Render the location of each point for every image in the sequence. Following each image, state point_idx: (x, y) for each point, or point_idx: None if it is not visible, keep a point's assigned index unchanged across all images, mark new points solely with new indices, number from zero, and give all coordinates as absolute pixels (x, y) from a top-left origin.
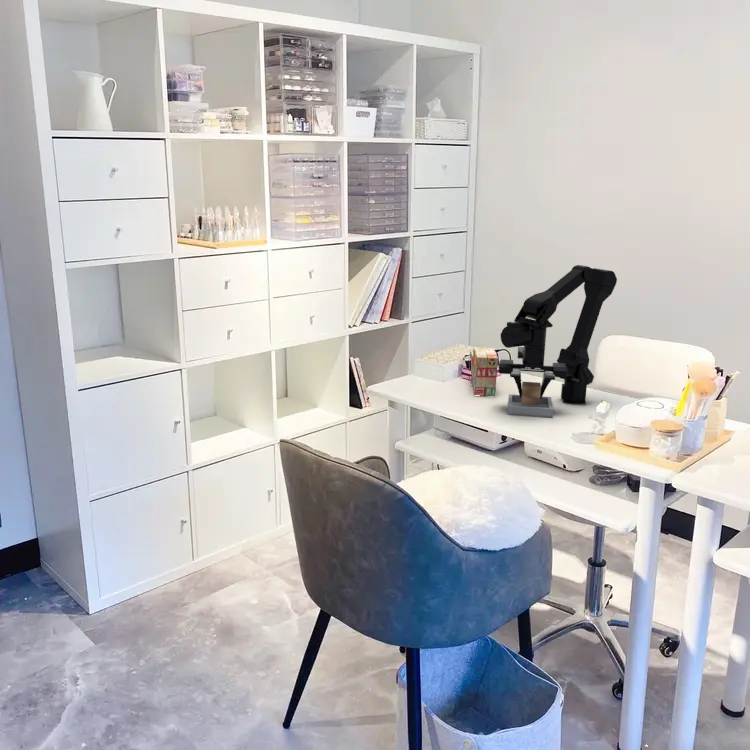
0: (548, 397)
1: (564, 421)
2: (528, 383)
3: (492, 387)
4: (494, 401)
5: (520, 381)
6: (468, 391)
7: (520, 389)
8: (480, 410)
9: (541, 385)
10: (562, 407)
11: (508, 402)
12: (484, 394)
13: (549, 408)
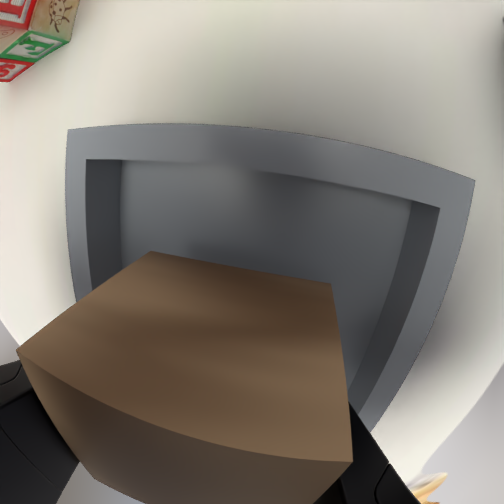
0: (450, 198)
1: (383, 440)
2: (115, 453)
3: (17, 38)
4: (52, 136)
5: (55, 494)
6: None
7: None
8: (31, 300)
9: (327, 491)
10: (494, 225)
11: None
12: (25, 63)
13: None
